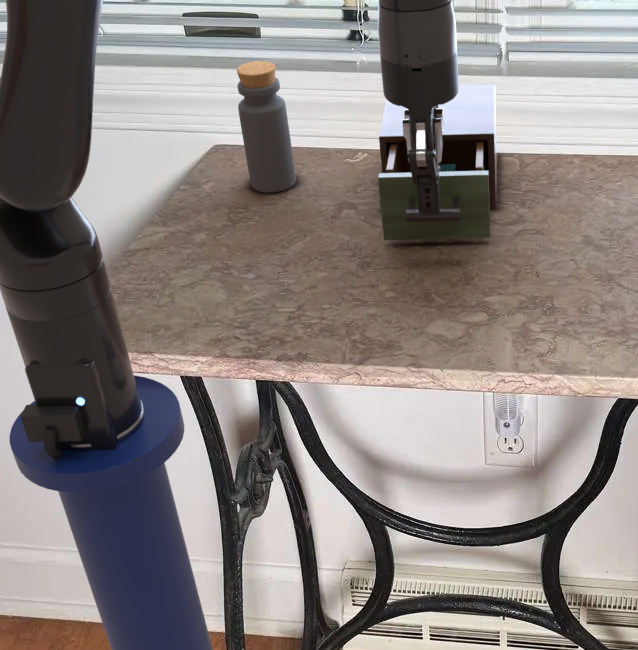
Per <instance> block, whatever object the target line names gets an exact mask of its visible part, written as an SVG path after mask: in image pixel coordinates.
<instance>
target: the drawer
mask: <svg viewBox="0 0 638 650" xmlns="http://www.w3.org/2000/svg"><path fill="white" fill-rule="evenodd" d="M442 142H443V148H442V159H441V162H440V163H439V165H444V164H455V165H456V171H450V172H439V174H440V179H439V196H440V210H439V213H438V214H433V215H422V214H420V213H419V209H418V195H417V185H414V184H413V181H412V174H411V169H410V164H409V162H408V159H407V154H408V153H407V142H393V143H391V146H390V152H389V157H388V163H387V168H386V173H382V172H379V173H378V176H377V179H378V180H377V181H378V193H379V202H380V212H381V213H380V214H381V225H382V236H383V241H407V240H408V241H409V240H412V241H413V240H448V239H449V240H451V239H455V240H456V239H490V238H491V209H490V203H489V171H485V140H469V141H442Z"/></svg>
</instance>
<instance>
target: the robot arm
mask: <svg viewBox="0 0 638 650" xmlns="http://www.w3.org/2000/svg"><path fill="white" fill-rule="evenodd" d="M103 5H104V0H5V8H6V39H5V48H4V55H3V59H2V60H3V61H2V67H1V74H0V294H1V297H2V300H3V304H4V306H5V310H6V313H7V316H8V319H9V322H10V324H11V327H12V328H11V329H12V331H13V334H14V337H15V340H16V344H17V346H18V349H19V352H20V355H21V358H22V361H23V364H24V368H25V369H24V372H25V375H26V378H27V381H28V384H29V387H30V390H31V393H32V397H33V399H34V401H35V402H36V405H30V404H26V405H25V407H24V408H23V410H22V411H23V412H22V411H21V412H22V414H21V413H20V414H21V416H20V418H21V421H22V424H23V427H24V430H25V432H26V435H27V438H28V441H29V442H44V447H45V451H46V453H47V454H48V455H49V456H51V457H52V458H53V459H58V458H60V457H61V455H62V452H61V451H73V450H80V451H83V450H114V449H115V448H116V446H117V444H118V443H119V442H120V441H122V440H124V439H125V438H127V437H129V436H130V435H131V434H133V433H134V432H135V431H136V430H137V429H138V428H139V426H140V425H141V424H142V422H143V419H144V415H145V413H144V408H143V404H142V401H141V400H140V397H139V393H138V389H137V385H136V381H135V377H134V376H135V374H134V371H133V367H132V363H131V359H130V356H129V352H128V348H127V344H126V341H125V336H124V332H123V329H122V325H121V321H120V317H119V314H118V310H117V306H116V302H115V299H114V295H113V291H112V287H111V282H110V279H109V278H110V277H109V274H108V272H107V271H108V270H107V266H106V263H105V259H104V257H103V252H102V249H101V248H102V247H101V244H100V240H99V237H98V233H97V232H96V229H95V227H94V226H93V223H91V221H90V220H89V219H88V217H86V215H85V214H84V213H83V212H82V210H81V209H80V208H79V206H78V204H77V203H76V201H75V200H74V198H73V196H74V195H75V193H76V192H77V190H78V189H79V188H80V186H81V184H82V182H83V180H84V178H85V175H86V172H87V169H88V165H89V161H90V155H91V148H92V135H93V116H94V95H95V79H96V77H95V76H96V59H97V47H98V39H99V38H98V37H99V31H100V25H101V18H102V12H103V11H102V10H103V7H104V6H103ZM377 7H378V8H377V9H378V10H377V13H378V14H377V36H378V48H379V57H380V58H379V59H380V68H381V80H382V81H381V82H382V90H383V97H384V98H385V99H386V100H388V101H389V102H390V103H392V104H394V105H397V106H402V107H405V108H407V109H405V110H404V118H405V119H403V135H404V138H405V139H406V142H407V153H408V154H407V159H408V162H409V164H410V169H411V174H412V181H413V184H414V185H417V195H418V209H419V213H420V214H422V215H433V214H438V213H439V210H440V196H439V179H440V174H439V171H440V167H439V163H440V162H441V159H442V148H443V142H442V132H443V122H444V115H443V108H439V107H438V105H442V104H445V103H447V102H449V101H451V100H452V99H454V98H455V97H456V95H457V94H458V91H459V85H460V80H459V79H460V78H459V62H458V60H459V59H458V42H457V40H458V38H457V23H456V16H455V10H454V5H453V0H377Z"/></svg>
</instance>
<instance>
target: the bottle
mask: <svg viewBox="0 0 638 650" xmlns="http://www.w3.org/2000/svg"><path fill="white" fill-rule="evenodd" d="M276 67H277V66H276V64H275V63H273V62H270V61H265V60H257V61H249V62H245V63H243V64H241V65H239V66H238V67H237V68H236V73H237V76H238V79H239V81H238V83H237V92H238V94H239V95H241V96H242V97H243V98H242V99H241V100H240V102H239V103H238V105H237V107H238V116H239V123H240V129H241V135H242V141H243V147H244V153H245V159H246V164H247V165H246V166H247V171H248V175H249V176H248V177H249V182H250V186H251V188H252V189H253V190H255V191H257V192H260V193H268V194H269V193H270V194H271V193H278V192H279V193H280V192H282V191H286V190H289V189H291V188H292V187H293V186H294V185H295V184H296V183H297V177H296V169H295V161H294V155H293V148H292V139H291V133H290V126H289V125H290V124H289V119H288V113H287V106H286V102H285V99H284V98H283V97H281V96H280V95H278V94H277V93H278V92H279V91H280V89H281V84H280V83H281V82H280V80H279V78H277V77H276V69H277V68H276Z"/></svg>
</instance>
